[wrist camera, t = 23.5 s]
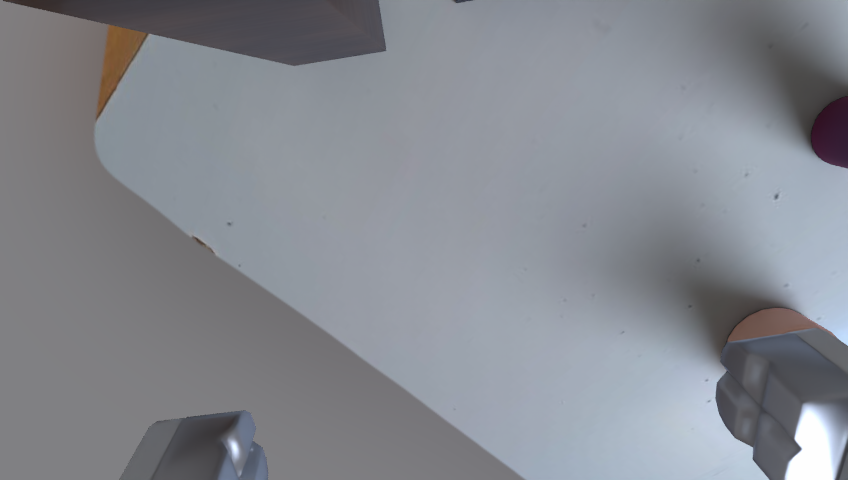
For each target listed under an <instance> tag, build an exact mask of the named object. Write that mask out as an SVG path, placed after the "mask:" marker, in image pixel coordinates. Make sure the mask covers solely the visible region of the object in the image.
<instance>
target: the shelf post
mask: <svg viewBox="0 0 848 480" xmlns="http://www.w3.org/2000/svg"><path fill="white" fill-rule="evenodd" d="M3 1H6V2H11V3H15V4H20V5H24V6H28V7H33V8H38V9H42V10H47V11H51V12H55V13H60V14H64V15H69V16H74V17H78V18H82V19H87V20H91V21H96V22H100V23H105V24H109V25H113V26H118V27H122V28H127V29H131V30H136V31H140V32H145V33H149V34H154V35H158V36H163V37H167V38H172V39H176V40H181V41H185V42H190V43H194V44H198V45H203V46H207V47H212V48H216V49H221V50H225V51H230V52H234V53H239V54H243V55H248V56H252V57H257V58H261V59H266V60H270V61H275V62H279V63H284V64H288V65H292V66H295V65H302V64H308V63H314V62H320V61H326V60H333V59H339V58H345V57H351V56H357V55H364V54H370V53H376V52H382V51H386V46H385V39H384V33H383V27H382V20H381V14H380V8H379V1H378V0H3Z"/></svg>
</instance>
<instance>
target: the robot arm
mask: <svg viewBox="0 0 848 480" xmlns="http://www.w3.org/2000/svg"><path fill="white" fill-rule="evenodd" d="M720 362H721V363H722V365H723V366H724V367H725V368H726V370H727V372H726V373H725V374H724V375H723V376H722V378H721V379H720V380H719V381H718V382H717V388H716V403H717V407H718V411H719V414H720V416H721V418H722V420H723V422H724V424H725V426H726V427H727V429H728V430H729V431H730V432H731V434H732V435H733V436H734V437H735V438H736V439H738V440H740V441H742V442H744V443H746V444H748V445H750V446H751V447H753V460H754V462H755V463H756V464H757V465H758V466H759V468H760V469H761V470H762V471H763V472H764V474H765V475H766V476H767V477H768V478H769V480H848V346H847V345H846V344H844V343H843V342H841V341H840V340H839V339H837V338H836V337H834V336H833V335H832V334H830V333H829V332H827V331H825V330H822V329H818V328H811V329H805V330H799V331H793V332H787V333H785V334H778V335H772V336H765V337H758V338H751V339H745V340H738V341H731V342H727V343H726V345H725V346H724V348H723V349H722V354H721V360H720ZM255 430H256V426H255V423H254V421H253V418H252V415H251V413H250V412H247V411H245V410H243V411H235V412H227V413H219V414H210V415H201V416H193V417H187V418H180V419H173V420H164V421H157V422H156V423H154V424H153V425H151V426H150V427H149V428H148V430H147V432H146V433H145V435H144V437H143V439H142V441H141V442H140V444H139V446H138V447H137V449H136V451H135V453H134V454H133V456H132V458H131V460H130V462H129V463H128V465H127V467H126V469H125V471H124V472H123V474H122V476H121V478H120V479H119V480H268V468H267V461H266V457H265V453H264V450H263V448H262V447H261V446H260V445H258V444H257V443H255V442H254V441H253V437H254V434H255Z"/></svg>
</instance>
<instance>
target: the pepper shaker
mask: <svg viewBox="0 0 848 480" xmlns="http://www.w3.org/2000/svg"><path fill="white" fill-rule="evenodd" d="M811 328H818V329H822V330H825V331H827V332H829V333H830V334H832V335H833V336H834V337H836V336H835V335H834V334H833V333H832V332H830V331H828V330H827V329H825V328H823V327H822V326H820V325H818V324H817V323H815V322H813V321H812V320H810V319H808V318H807V317H805V316H803V315H801V314H799V313H797V312H795V311H793V310H791V309H784V308H771V309H764V310H760V311H758V312H756V313H754V314H752V315H749V316H747V317H746V318H745V319H744V320H743V321H741V322H740V323H739V324H738V325H737V326H736V327H735V328H734V330H733V331H732V333H731V334H730V336H729V337H728V341H727V342H731V341H738V340H745V339H751V338H758V337H765V336H772V335H778V334H785V333H787V332H793V331H799V330H805V329H811ZM836 338H837V337H836Z"/></svg>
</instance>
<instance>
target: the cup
mask: <svg viewBox="0 0 848 480" xmlns="http://www.w3.org/2000/svg"><path fill="white" fill-rule="evenodd" d="M811 141H812V146H813V149H814V151H815V153H816V154H817V155H818V157H819V158H821V159H822V160H823V161H825V162H827V163H829V164H832V165H836V166H840V167H844V168H848V96H846V97H843V98H840V99H837V100H836V101H834V102H832V103H830V104H829V105H828V106H827V107H826V108H824V109H823V111H822V112H821V113H820V114H819V116H818V117H817V119H816V120H815V123H814V125H813V128H812V133H811Z"/></svg>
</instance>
